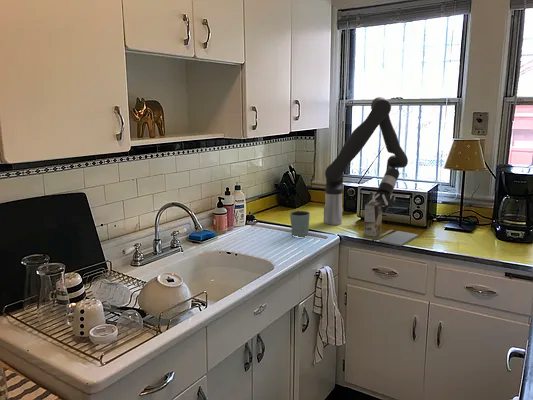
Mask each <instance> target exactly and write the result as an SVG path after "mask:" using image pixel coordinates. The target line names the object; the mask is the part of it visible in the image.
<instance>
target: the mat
mask: <svg viewBox="0 0 533 400" xmlns="http://www.w3.org/2000/svg"><path fill="white" fill-rule="evenodd" d="M418 237H419V234H417V233H412V232H407V231H401V230H396V231H395V232H394V231H393V232H392V233H391V234H388V235H387V236H385V237H383V238H381V239H379V243H382V242H383V243H384V244H388V245H391V246H398V247H402V246H404V245H405V244H408V243H409V242H410V241H412V240H414V239H416V238H418Z"/></svg>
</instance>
